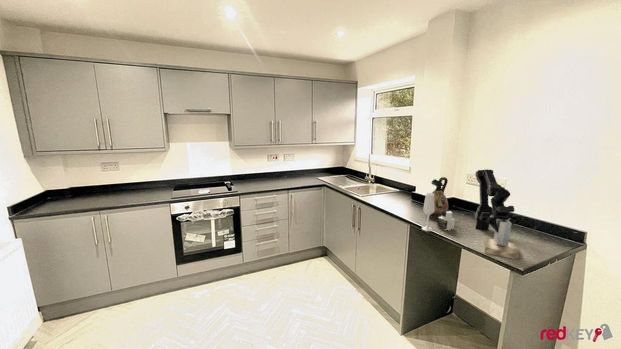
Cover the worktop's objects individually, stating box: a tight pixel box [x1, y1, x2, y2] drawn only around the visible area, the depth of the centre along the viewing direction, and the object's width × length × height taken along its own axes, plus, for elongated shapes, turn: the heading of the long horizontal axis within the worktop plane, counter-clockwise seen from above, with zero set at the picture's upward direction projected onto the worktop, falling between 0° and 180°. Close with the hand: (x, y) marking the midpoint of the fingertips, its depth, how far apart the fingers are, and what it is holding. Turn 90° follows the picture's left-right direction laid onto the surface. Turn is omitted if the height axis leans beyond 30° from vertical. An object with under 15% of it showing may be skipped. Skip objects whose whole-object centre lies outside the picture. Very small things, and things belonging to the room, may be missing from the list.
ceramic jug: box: [429, 177, 449, 219], centre depth 189 cm, size 17×15×30 cm
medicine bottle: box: [436, 209, 456, 231], centre depth 168 cm, size 7×7×12 cm
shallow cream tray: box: [483, 237, 519, 260], centre depth 138 cm, size 14×14×3 cm
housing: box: [493, 219, 512, 246], centre depth 137 cm, size 5×5×13 cm
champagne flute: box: [421, 192, 434, 232], centre depth 166 cm, size 7×7×24 cm
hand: (503, 232), depth 135 cm, fingers closed on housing, 5 cm apart
